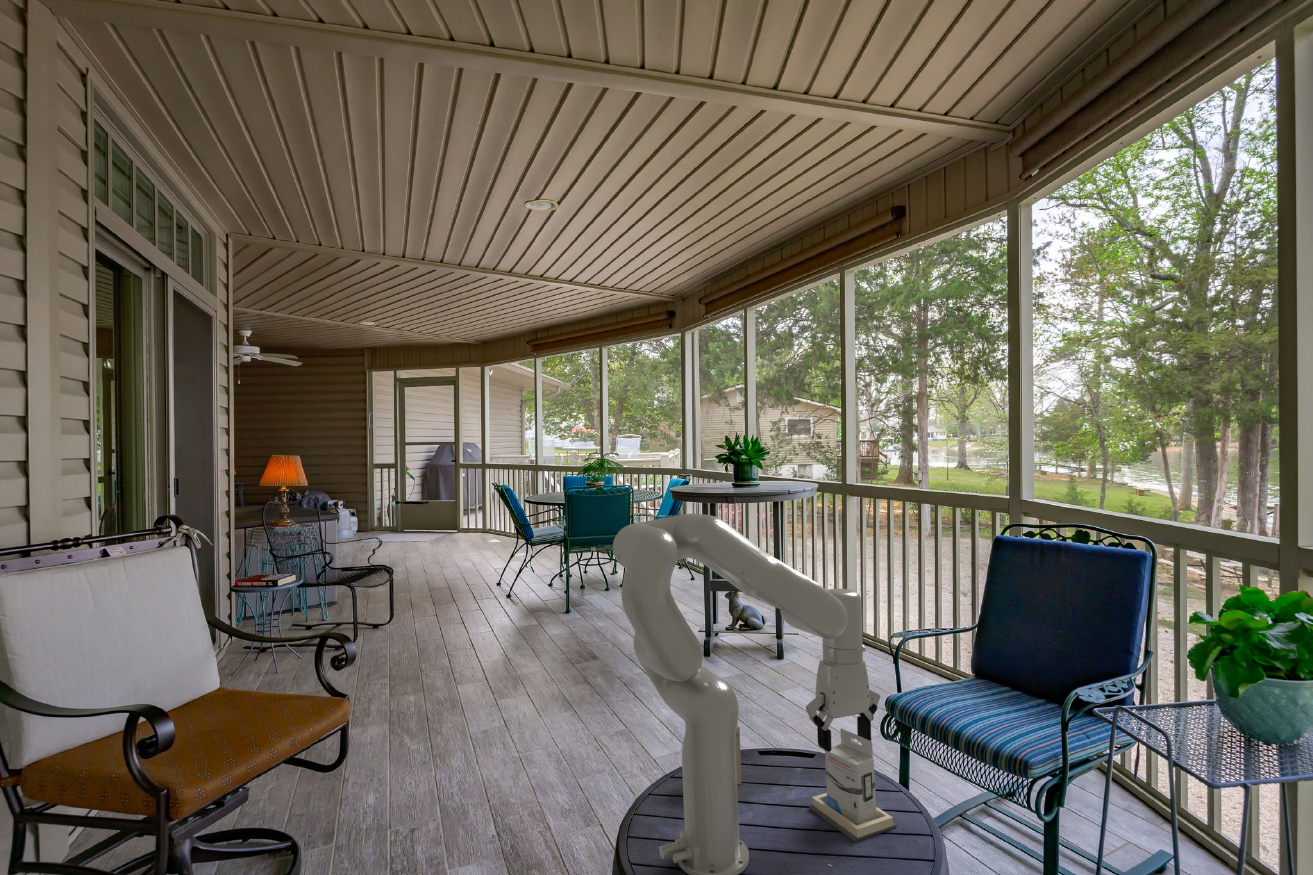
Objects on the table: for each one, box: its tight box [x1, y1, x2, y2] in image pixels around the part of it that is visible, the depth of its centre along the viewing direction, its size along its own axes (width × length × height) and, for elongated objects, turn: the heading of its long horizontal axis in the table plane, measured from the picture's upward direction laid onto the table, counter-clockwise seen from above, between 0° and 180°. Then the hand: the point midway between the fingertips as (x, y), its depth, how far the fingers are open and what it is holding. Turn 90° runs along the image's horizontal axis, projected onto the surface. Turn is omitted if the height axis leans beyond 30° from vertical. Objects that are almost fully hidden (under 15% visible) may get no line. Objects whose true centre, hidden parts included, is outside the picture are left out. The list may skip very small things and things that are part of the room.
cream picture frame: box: [808, 792, 897, 843], centre depth 123 cm, size 10×13×2 cm
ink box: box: [824, 728, 877, 825], centre depth 124 cm, size 8×5×15 cm, turn 31°
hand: (844, 744), depth 124 cm, fingers open, 9 cm apart
